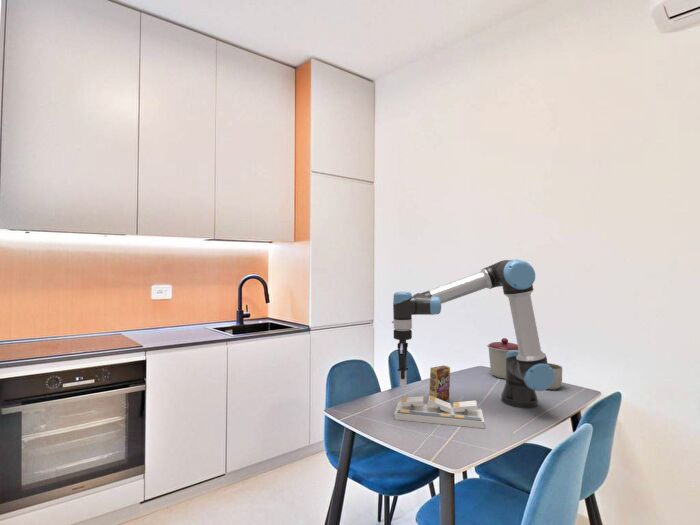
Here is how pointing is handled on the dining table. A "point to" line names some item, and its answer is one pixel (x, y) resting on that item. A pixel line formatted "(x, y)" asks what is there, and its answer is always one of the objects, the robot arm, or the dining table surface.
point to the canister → (500, 356)
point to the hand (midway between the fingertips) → (403, 386)
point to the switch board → (439, 416)
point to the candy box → (440, 382)
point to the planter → (556, 376)
